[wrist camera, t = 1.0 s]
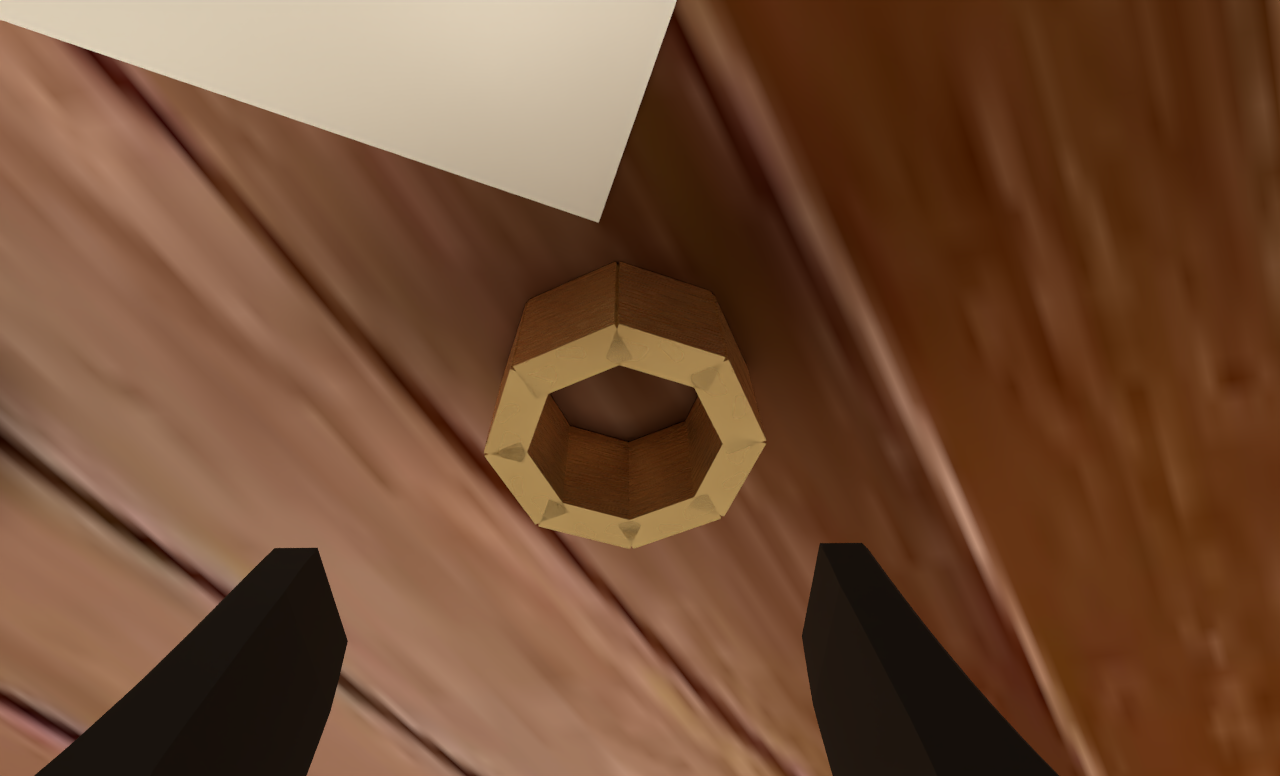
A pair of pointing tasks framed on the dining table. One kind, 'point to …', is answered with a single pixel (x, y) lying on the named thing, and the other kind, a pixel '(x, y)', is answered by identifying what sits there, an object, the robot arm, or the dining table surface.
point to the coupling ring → (611, 468)
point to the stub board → (408, 74)
